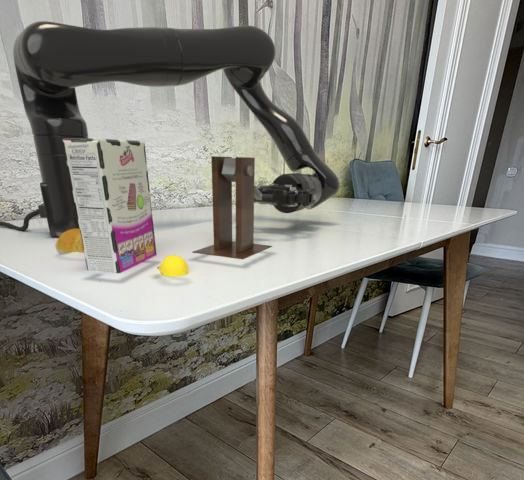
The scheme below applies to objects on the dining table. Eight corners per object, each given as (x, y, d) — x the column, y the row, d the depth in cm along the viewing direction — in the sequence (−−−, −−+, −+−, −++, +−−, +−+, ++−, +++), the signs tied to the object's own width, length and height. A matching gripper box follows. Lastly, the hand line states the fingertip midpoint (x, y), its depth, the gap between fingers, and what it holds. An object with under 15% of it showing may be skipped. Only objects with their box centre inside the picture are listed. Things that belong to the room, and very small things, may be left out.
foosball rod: (248, 205, 71) (251, 192, 71) (273, 207, 69) (276, 193, 69) (213, 173, 59) (216, 157, 59) (242, 174, 57) (246, 158, 57)
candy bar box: (128, 260, 61) (113, 140, 54) (158, 262, 60) (147, 141, 53) (85, 279, 51) (59, 136, 44) (120, 282, 50) (100, 136, 43)
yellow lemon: (178, 286, 49) (164, 260, 47) (155, 289, 53) (141, 265, 52) (197, 274, 51) (184, 248, 49) (173, 277, 55) (161, 254, 54)
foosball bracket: (226, 247, 71) (225, 156, 65) (272, 253, 68) (275, 158, 61) (192, 259, 62) (186, 155, 56) (242, 267, 59) (243, 157, 52)
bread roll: (104, 261, 60) (100, 234, 58) (49, 258, 60) (43, 231, 59) (128, 250, 67) (125, 226, 65) (78, 247, 68) (74, 223, 66)
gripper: (264, 171, 84) (226, 173, 71) (328, 174, 79) (301, 177, 66) (263, 208, 88) (227, 216, 74) (324, 213, 82) (298, 223, 69)
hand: (261, 198), depth 70 cm, fingers open, 8 cm apart
